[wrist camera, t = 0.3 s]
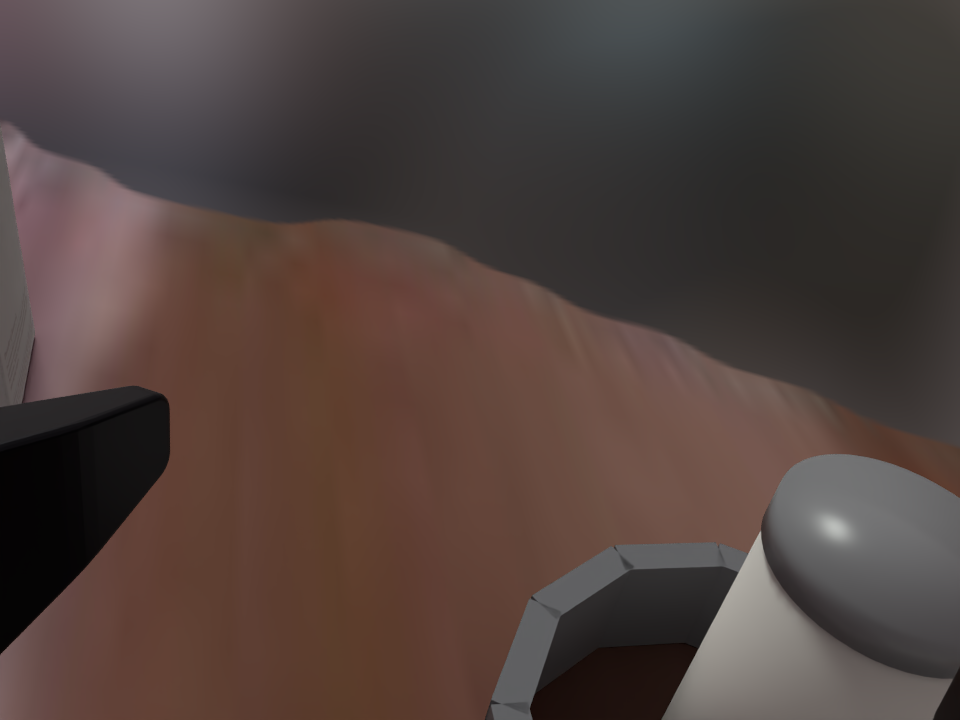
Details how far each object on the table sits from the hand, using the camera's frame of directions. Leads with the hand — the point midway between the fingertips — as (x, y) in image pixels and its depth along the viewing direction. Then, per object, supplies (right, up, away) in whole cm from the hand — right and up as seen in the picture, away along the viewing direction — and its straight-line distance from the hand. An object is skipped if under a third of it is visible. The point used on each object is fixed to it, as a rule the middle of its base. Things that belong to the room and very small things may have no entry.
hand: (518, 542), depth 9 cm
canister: (+6, -11, +15) cm, 20 cm away
